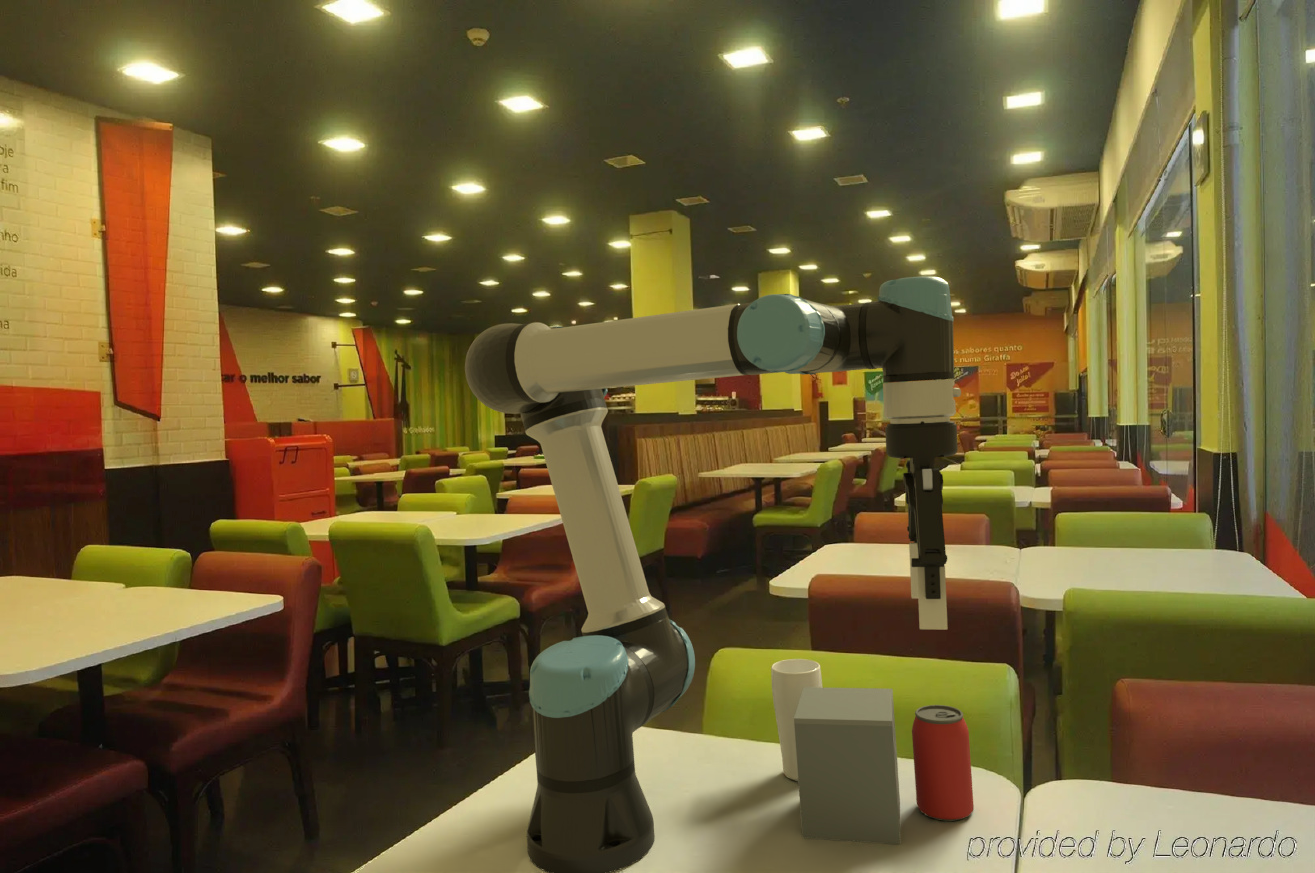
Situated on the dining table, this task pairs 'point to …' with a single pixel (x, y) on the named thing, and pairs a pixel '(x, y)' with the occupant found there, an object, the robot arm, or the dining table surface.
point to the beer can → (942, 763)
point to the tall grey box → (848, 765)
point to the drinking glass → (791, 703)
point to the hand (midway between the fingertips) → (928, 612)
